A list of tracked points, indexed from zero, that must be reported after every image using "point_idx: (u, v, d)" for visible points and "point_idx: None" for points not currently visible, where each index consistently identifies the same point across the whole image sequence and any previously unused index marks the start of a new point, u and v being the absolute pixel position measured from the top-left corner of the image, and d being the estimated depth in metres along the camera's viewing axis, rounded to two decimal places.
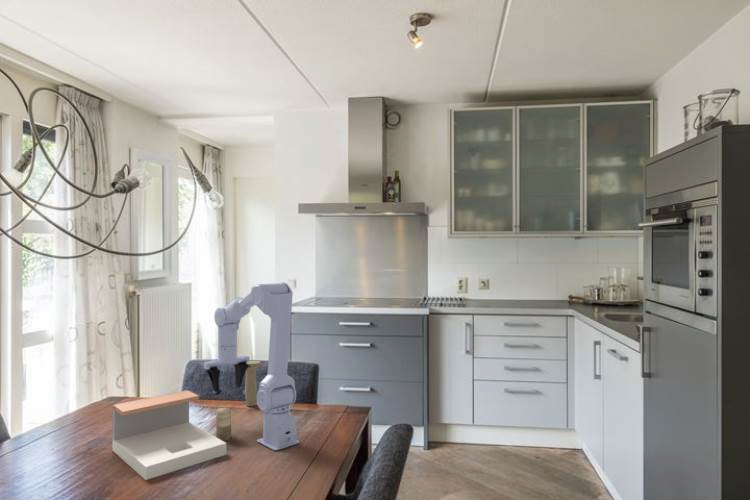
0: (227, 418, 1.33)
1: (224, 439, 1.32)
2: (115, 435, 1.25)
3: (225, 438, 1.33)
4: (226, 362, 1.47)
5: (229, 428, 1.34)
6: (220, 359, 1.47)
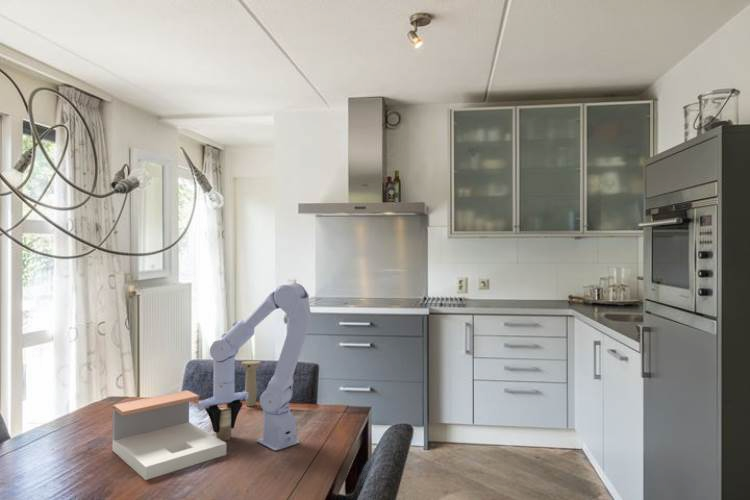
0: (227, 418, 1.33)
1: (224, 439, 1.32)
2: (115, 435, 1.25)
3: (225, 438, 1.33)
4: (222, 401, 1.31)
5: (229, 428, 1.34)
6: (216, 397, 1.32)
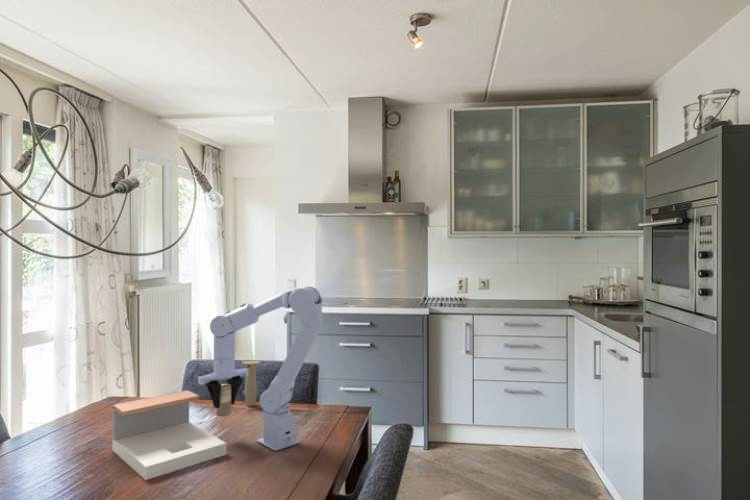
0: (228, 393, 1.33)
1: (224, 414, 1.33)
2: (115, 435, 1.25)
3: (225, 413, 1.33)
4: (223, 376, 1.32)
5: (229, 404, 1.34)
6: (216, 373, 1.32)
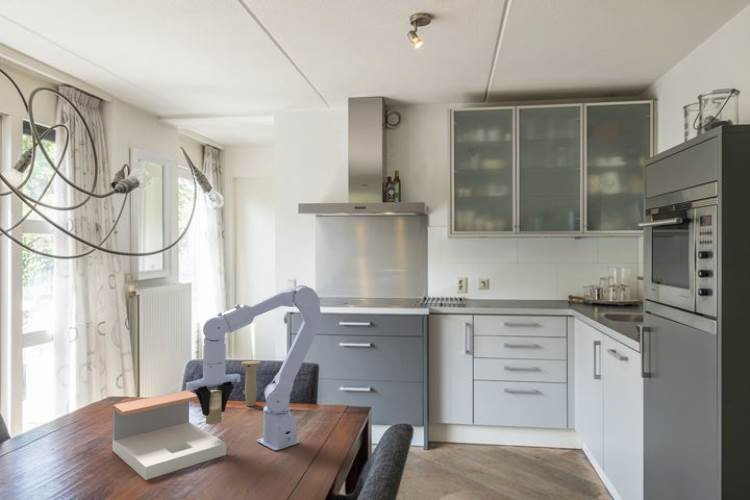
0: (218, 400, 1.26)
1: (214, 423, 1.25)
2: (115, 435, 1.25)
3: (215, 422, 1.25)
4: (212, 382, 1.24)
5: (219, 411, 1.26)
6: (205, 379, 1.25)
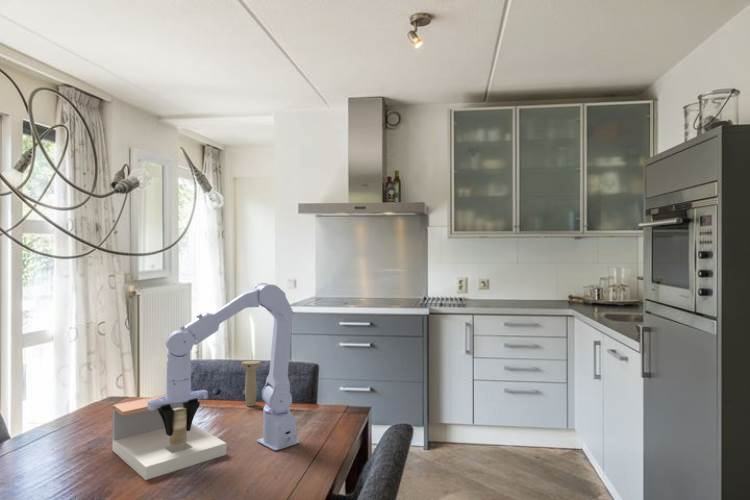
0: (182, 419, 1.19)
1: (178, 443, 1.18)
2: (115, 435, 1.25)
3: (179, 442, 1.19)
4: (176, 400, 1.17)
5: (184, 430, 1.20)
6: (169, 396, 1.18)
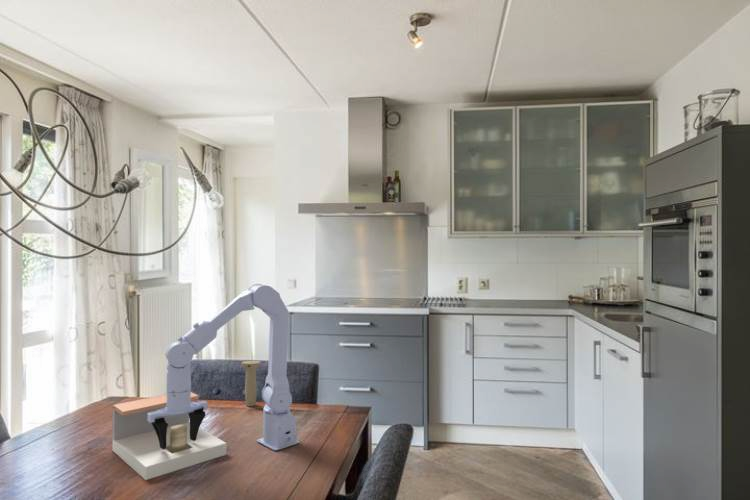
0: (182, 436, 1.19)
1: None
2: (115, 435, 1.25)
3: None
4: (176, 412, 1.17)
5: (184, 448, 1.20)
6: (169, 408, 1.18)
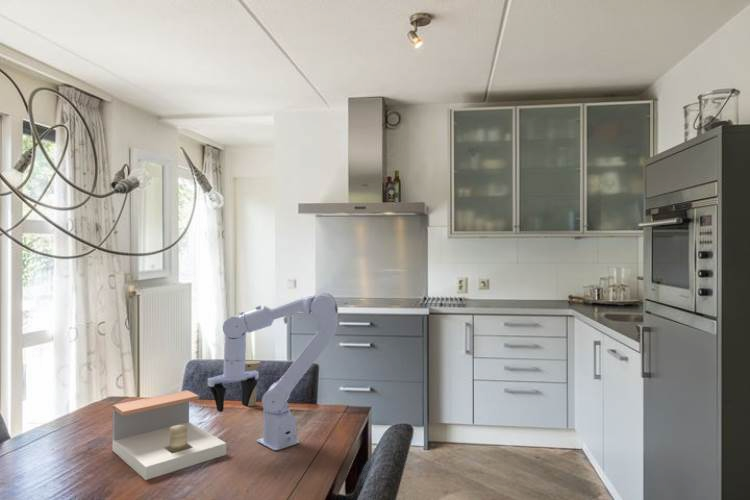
0: (182, 436, 1.19)
1: None
2: (115, 435, 1.25)
3: None
4: (233, 379, 1.29)
5: (184, 448, 1.20)
6: (226, 375, 1.29)
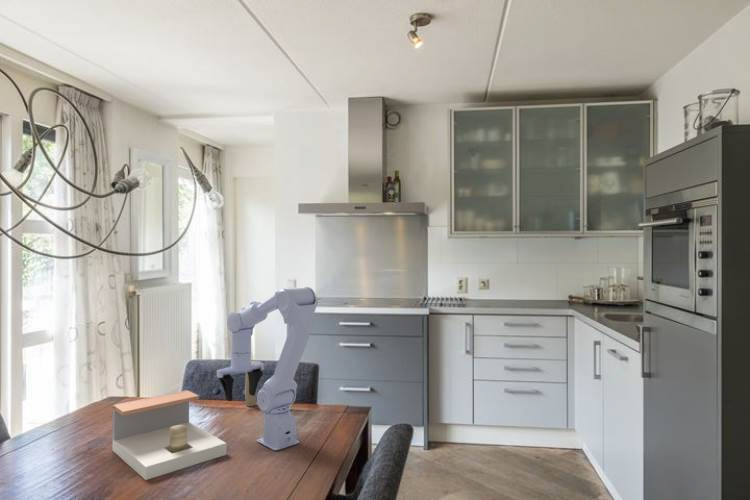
0: (182, 436, 1.19)
1: None
2: (115, 435, 1.25)
3: None
4: (240, 370, 1.39)
5: (184, 448, 1.20)
6: (233, 366, 1.39)
